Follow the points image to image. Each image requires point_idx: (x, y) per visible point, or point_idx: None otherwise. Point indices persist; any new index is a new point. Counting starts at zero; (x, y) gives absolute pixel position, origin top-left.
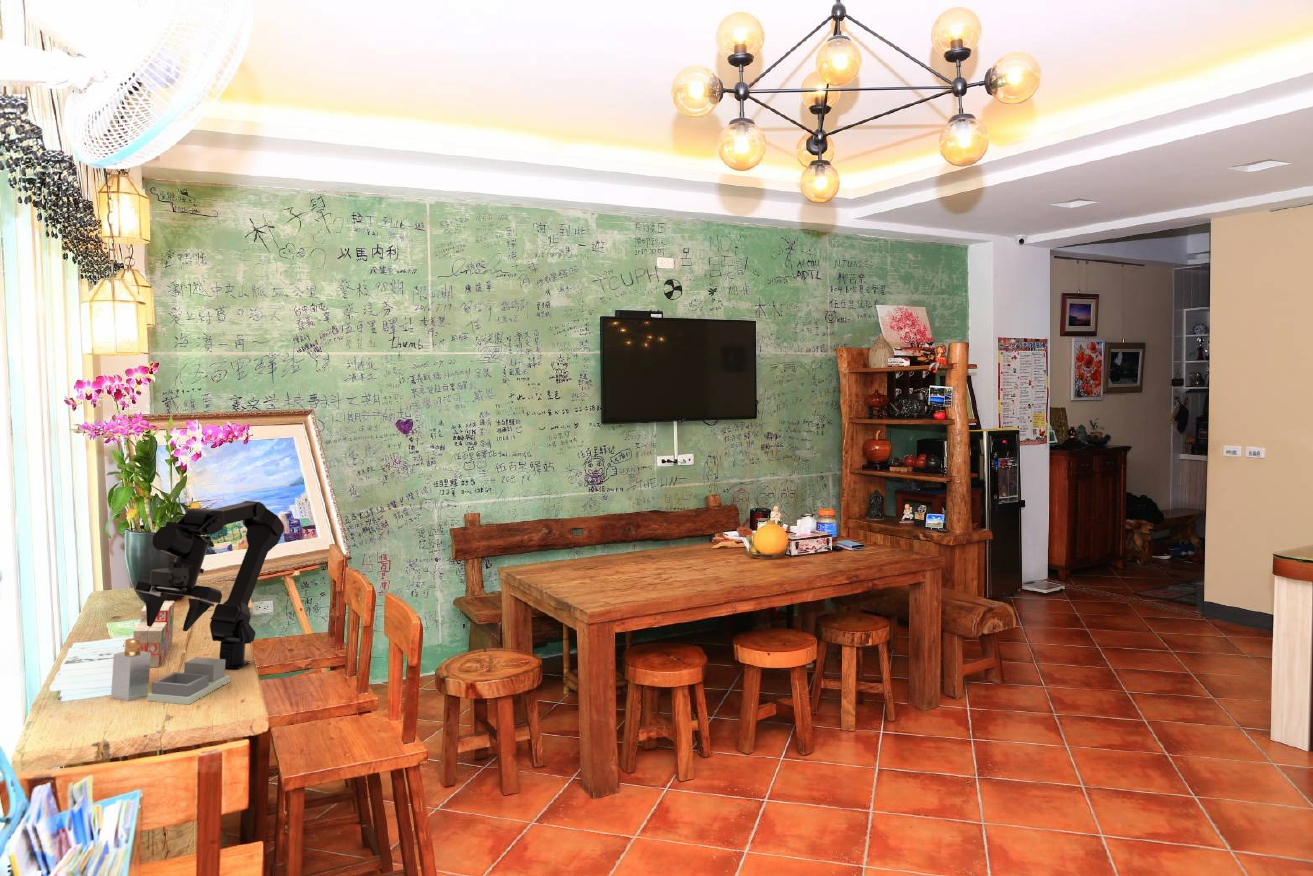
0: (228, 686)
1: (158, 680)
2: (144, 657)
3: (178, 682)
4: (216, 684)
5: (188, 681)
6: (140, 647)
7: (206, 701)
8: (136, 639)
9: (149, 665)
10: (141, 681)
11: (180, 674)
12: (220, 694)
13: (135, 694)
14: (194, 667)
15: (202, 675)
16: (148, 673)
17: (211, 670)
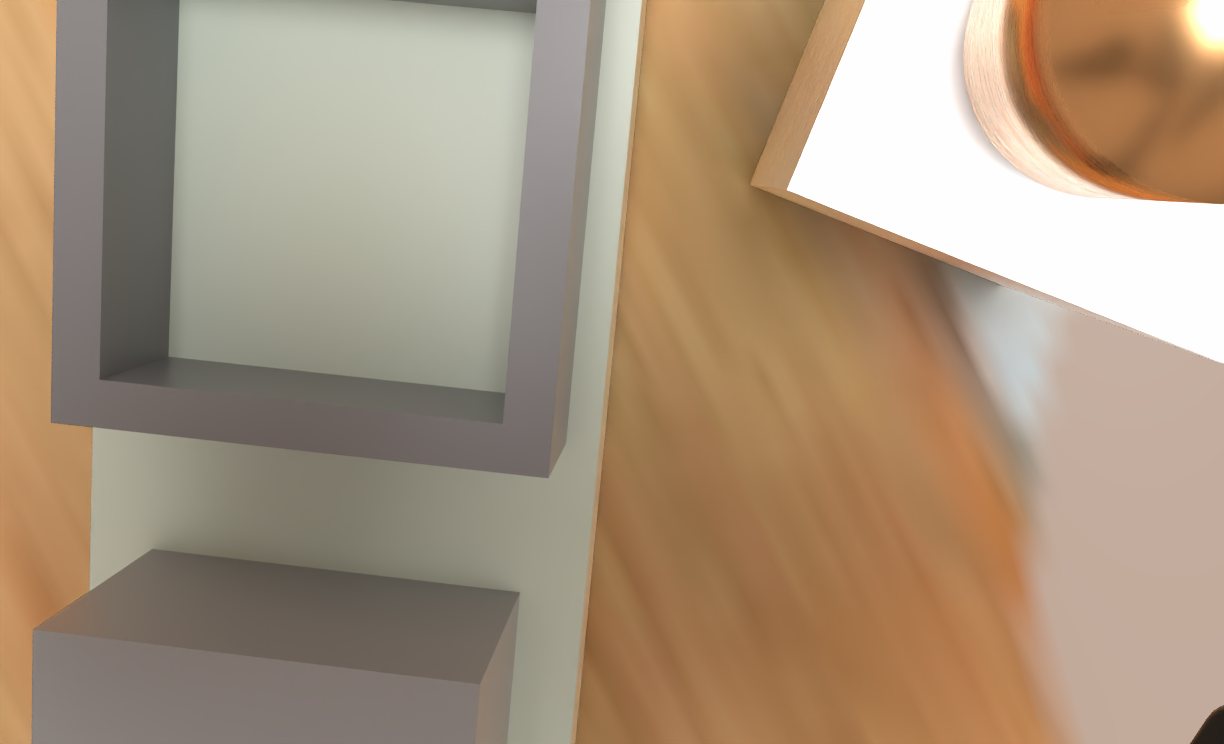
0: None
1: (556, 45)
2: (839, 55)
3: (476, 394)
4: (97, 509)
5: (339, 386)
6: (998, 74)
7: (28, 81)
8: (1194, 77)
9: (775, 180)
10: (807, 65)
11: (434, 416)
12: (12, 352)
13: (825, 6)
14: (342, 641)
15: (122, 394)
16: (770, 171)
17: (106, 603)
